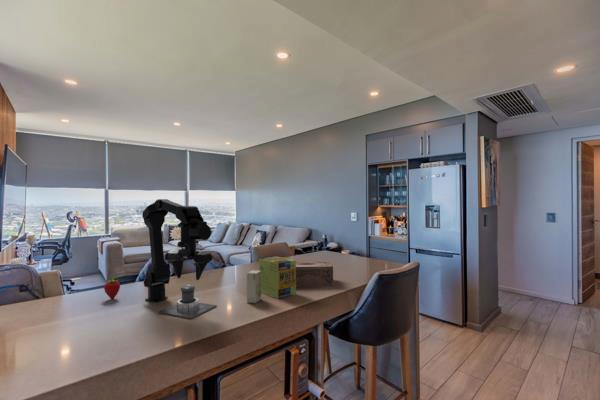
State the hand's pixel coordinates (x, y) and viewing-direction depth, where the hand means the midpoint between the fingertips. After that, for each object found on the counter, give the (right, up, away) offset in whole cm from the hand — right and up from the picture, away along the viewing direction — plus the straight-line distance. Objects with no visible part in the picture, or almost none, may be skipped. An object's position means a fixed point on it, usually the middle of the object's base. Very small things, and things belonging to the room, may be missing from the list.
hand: (188, 279), depth 113 cm
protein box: (+33, -13, +22) cm, 41 cm away
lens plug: (0, -11, 0) cm, 11 cm away
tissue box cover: (+47, -13, +40) cm, 63 cm away
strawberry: (-38, -13, +13) cm, 42 cm away
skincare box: (+24, -12, +11) cm, 29 cm away
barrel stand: (0, -12, 0) cm, 12 cm away
